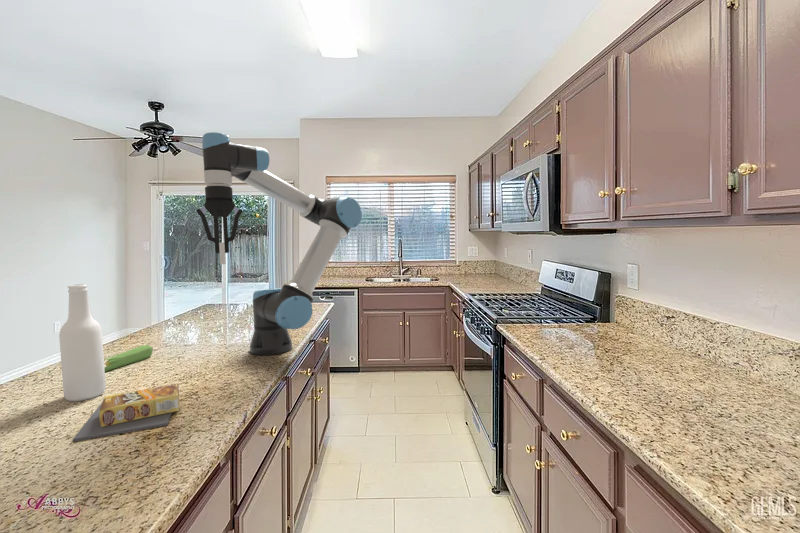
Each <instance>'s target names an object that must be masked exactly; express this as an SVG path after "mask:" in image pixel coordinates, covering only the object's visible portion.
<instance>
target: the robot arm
mask: <svg viewBox="0 0 800 533" xmlns="http://www.w3.org/2000/svg"><path fill="white" fill-rule="evenodd" d="M202 135H203V136H202V143H201V144H202V148H201V150H202V157H203V158H202V159H203V170H204V171H203V175H204V176H203V178H204V185H205V188H204V195H205V202H204V204H203V206H202V207H200V208H197V209H196V214H198V216H200V220H201V222H202V225H203V228H204V231H205V235H206V238H207V240H208V241H209V242H213V243H214V249H215V250H214V251H215V253H216V254H219V262H220V263H219V265H226V264H227V262H226V254H229V253H230V245H229V243H230V242H233V241H234V240H235V238H236V234H237V229H238V224H239V220H240V217H241V215H242V214H243V210H242V209H241V208H238V207H237V206H235V205H236V204H235V203H234V200H233V197H234V195H233V188H232V187H231V186H232V185H233V177H234V178H235V179H237V180H239V181H242V182H243V183H245V184H247V185H249V186H251V187H252V188H255V189H256V190H258V191H260V192H261V193H263V194H265V195H267V196H269V197H271V198H272V199H274V200H276V201H278V202H279V203H282V204H283V205H286V206H287V207H289V208H290V209H293V210H295V211H296V212H298V213H299V216H300V217H302V218H304V219H305V220H307V221H309V222H311V223H313V224H315V225H317V226H319V227H320V228H319V230H318V232H317V234H316V236H314V239H313V240H312V243H311V245H310V246H309V247H308V249H307V251H306V253H305V255H304V256H303V259H302V260H301V262H300V264H299V266H298V268H297V270H296V271H295V273H294V275H293V276H292V279H291V280H290V282H287V283H284V284H283V286H282V287H279V288H270V289H269V288H268V289H260V290H255V291H254V292H253V294H252V308H253V310H252V312H253V328H254V329H253V330H254V331H253V333H252V337H251V340H250V343H249V352H250V353H251V354H253V355H256V356H257V355H258V356H269V355H278V354H283V353H286V352H289V351H291V350H292V349H293V341H292V338H291V336H290V333H289V330H298V329H301V328H303V327H304V326H305V325H307V324H308V323H309V321H310V320H311V319H312V316H313V311H314V310H313V304H312V303H313V302H314V300H315V299H314V296H313V295H314V294H313V292H314V291H315V289H316V286H317V285H318V283H319V280H320V279H321V277H322V275H323V273H324V271H325V270H326V268H327V265H328V264H329V262H330V260H331V259H332V256H333V254H334V253H335V250H336V248H337V247H338V245H339V243H340V241H341V240H342V239H344V238H347V237H348V235H349V233H350V231H351V230H352V229H354V228H355V227H357V226H359V225H360V224H361V222H362V217H363V213H362V209H361V205H360V204H359V202H358V201H357V200H356V199H354V198H352V197H351V196H341V197H337V198H319V197H317V196H315V195H313V194H309V195H308V194H307V193H305V192H303V191H302V190H300V189H298V188H296V187H295V186H293V185H291V184H290V183H288V182H287V181H284V180H283V179H281V178H279V177H278V176H277V175H275V174H273V173H271V172H270V171H268V168H269V166H270V153H269V151H268V150H267V149H266V148H263V147H259V146H258V145H255V146H254V145H253V146H252V145H245V144H238V143H234V142H231V139H230V136H229V135H228V134H225V133H222V132H214V131H213V132H206V133H204V134H202ZM233 210H234V212H233ZM207 212H208V213H209V214H210V215H211V217H212V218H213V219H212V220H213V233H214V236H213V235H212V233H211V229H210V225H209V223H208V220H207V216H206V214H207ZM232 212H233V214H234V220H233V223H232V224H233V225H232V229H231V234H230V236H229V229H228V227H229V226H228V217H229V216H230V214H231V213H232ZM219 218H222V225H223V227H222V228H223V229H222V230H223V242H220V231H219V230H220V229H219Z"/></svg>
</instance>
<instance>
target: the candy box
mask: <svg viewBox="0 0 800 533" xmlns="http://www.w3.org/2000/svg"><path fill="white" fill-rule="evenodd" d="M178 391H179V383H173V384H168V385H162V386H156V387H150V388H145V389H140V390H134V391H128V392H123V393H119V394H111V395H106V396H104V398H103V400H102V402H101V403H102V405H101V407H100V410H99V418H100V427H104V426H109V425H114V424H118V423H123V422H128V421H132V420H137V419H142V418H146V417H151V416H156V415H160V414H165V413H170V412H172V413H174V412H179V411H180V397H179V395H180V394H179V393H180V392H178Z"/></svg>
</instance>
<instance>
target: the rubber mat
mask: <svg viewBox="0 0 800 533" xmlns="http://www.w3.org/2000/svg"><path fill="white" fill-rule="evenodd" d="M178 392H179V390H178ZM179 393H180V392H179ZM101 405H102V402H100V405H98V407H97V408H96V409H95V410H94V412H93V413H92V415H90V416H89V418H88V419H87V421H86V422H85V423H84V424H83V426H82V427H81V428H80V429H79V431H78V432H77V433H76V434H75V436H74V437H73V438H72V442H73V441H75V442H78V441H84V440H85V441H86V440H91V438H92V439H97V438H96V437H98V438H103V437H107V436H106V435H109V436H114V434H115V435H120V433H121V434H126V433H130V432H137V431H143V430H149V429H154V428H160V427H165V426H167V427H168V425H169V423H170V419H171V416H172V413H173V412H170V413H165V414H160V415H156V416H151V417H146V418H142V419H137V420H132V421H128V422H123V423H118V424H114V425H109V426H104V427H100V418H99V410H100V407H101ZM102 436H103V437H102Z"/></svg>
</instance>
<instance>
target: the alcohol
mask: <svg viewBox="0 0 800 533" xmlns="http://www.w3.org/2000/svg"><path fill="white" fill-rule="evenodd" d="M67 289H68V291H67V293H68V314H67V315H68V317H67V320H66V322H65V323H63V325H62V326H61V328H60V331H59V334H58V335H59V336H58V337H59V338H58V339H59V349H60V350H59V351H60V365H61V374H62V375H61V377H62V387H63V388H62V391H63V398H64V399H66V401H67V402H82V401H85V400H91V399H94V398H97V397H99V396H101V395H103V394H104V392H105V391H106V389H107V388H106V384H107V383H106V372H105V369H104V368H105V360H104V359H105V357H104V344H103V343H104V342H103V329H102V327H101V323H99V322H98V321H97V320H95V318H94V317H93V316H92V312H91V306H90V300H89V295H88V291H89V289H88V285H87V284H85V283H84V284H82V283H81V284H69V285H68V286H67Z"/></svg>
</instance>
